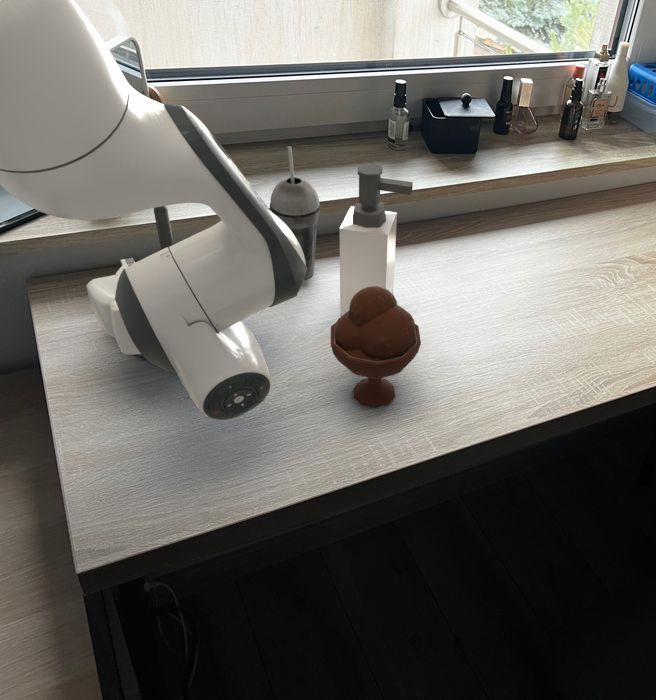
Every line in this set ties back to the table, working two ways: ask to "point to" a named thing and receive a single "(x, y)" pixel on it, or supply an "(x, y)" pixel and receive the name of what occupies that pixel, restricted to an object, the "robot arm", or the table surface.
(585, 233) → the table surface
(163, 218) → the peg stand
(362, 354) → the ice cream bowl
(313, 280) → the table surface
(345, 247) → the soap dispenser
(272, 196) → the beverage cup
